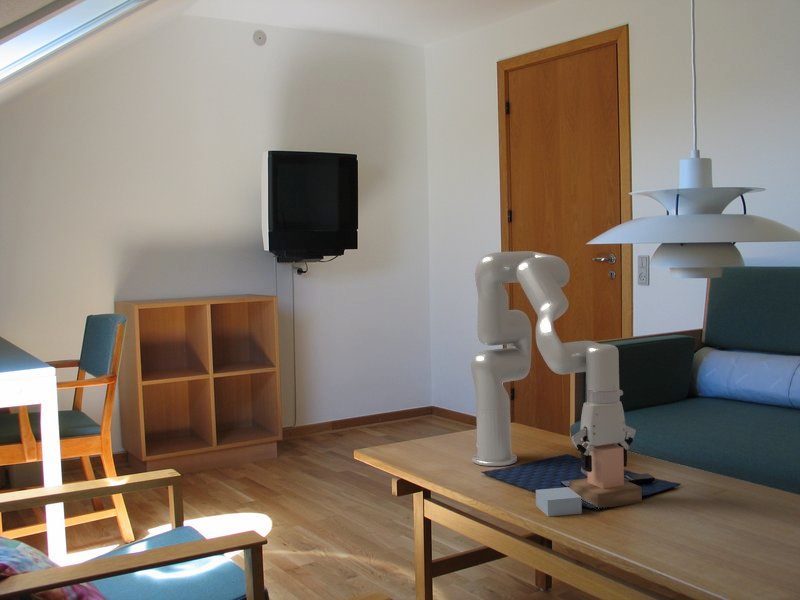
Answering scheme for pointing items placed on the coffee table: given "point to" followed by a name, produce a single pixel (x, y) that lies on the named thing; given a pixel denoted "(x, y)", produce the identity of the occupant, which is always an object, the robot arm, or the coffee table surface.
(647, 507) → the coffee table surface
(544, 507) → the slate block
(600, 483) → the terracotta block
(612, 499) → the walnut block
